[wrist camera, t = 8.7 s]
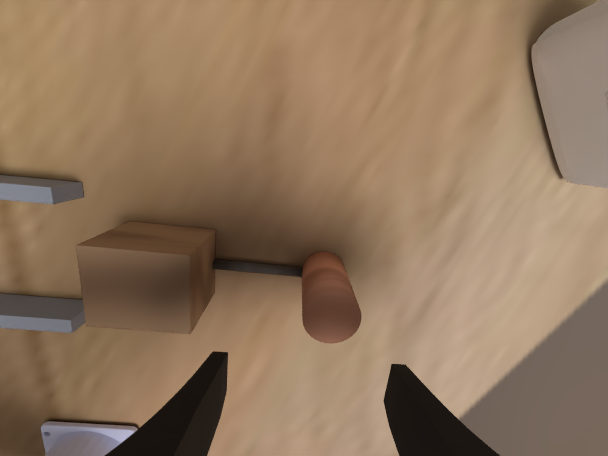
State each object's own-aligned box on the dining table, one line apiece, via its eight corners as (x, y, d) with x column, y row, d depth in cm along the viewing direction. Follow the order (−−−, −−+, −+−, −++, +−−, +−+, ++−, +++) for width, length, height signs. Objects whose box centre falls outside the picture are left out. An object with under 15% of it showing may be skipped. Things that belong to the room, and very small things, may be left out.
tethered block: (339, 302, 22) (354, 358, 16) (134, 285, 21) (72, 337, 15) (349, 242, 21) (368, 279, 15) (130, 221, 20) (60, 252, 14)
